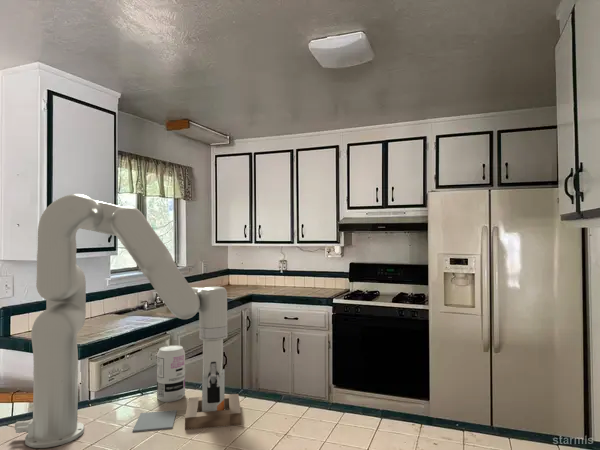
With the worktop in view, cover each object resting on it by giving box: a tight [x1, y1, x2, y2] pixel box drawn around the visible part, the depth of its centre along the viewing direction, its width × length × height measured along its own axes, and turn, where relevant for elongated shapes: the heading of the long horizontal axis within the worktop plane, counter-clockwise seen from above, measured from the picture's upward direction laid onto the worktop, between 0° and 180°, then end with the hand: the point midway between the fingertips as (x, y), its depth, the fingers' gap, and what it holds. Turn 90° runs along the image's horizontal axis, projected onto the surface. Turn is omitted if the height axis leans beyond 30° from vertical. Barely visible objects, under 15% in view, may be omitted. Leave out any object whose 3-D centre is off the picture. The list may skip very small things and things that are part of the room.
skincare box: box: [201, 368, 226, 412], centre depth 114 cm, size 6×4×12 cm
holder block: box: [184, 393, 242, 431], centre depth 114 cm, size 14×14×3 cm
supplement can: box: [156, 344, 186, 403], centre depth 129 cm, size 8×8×15 cm
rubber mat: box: [132, 409, 178, 433], centre depth 111 cm, size 10×11×1 cm
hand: (213, 395), depth 114 cm, fingers open, 9 cm apart
